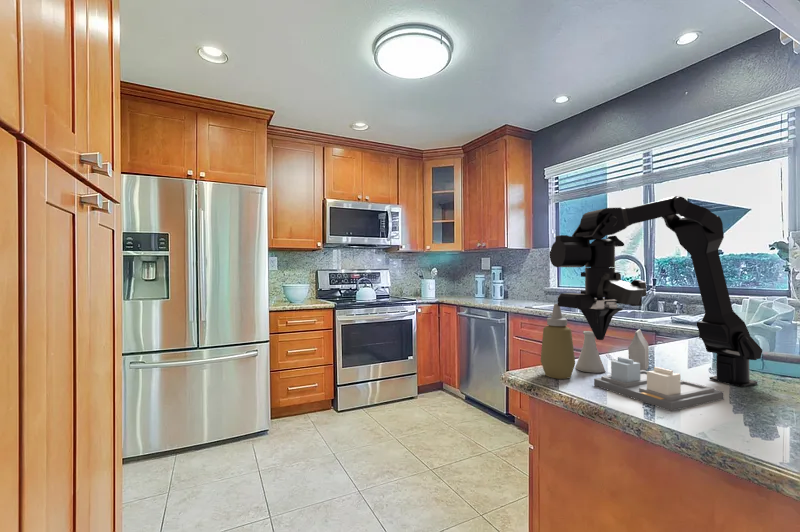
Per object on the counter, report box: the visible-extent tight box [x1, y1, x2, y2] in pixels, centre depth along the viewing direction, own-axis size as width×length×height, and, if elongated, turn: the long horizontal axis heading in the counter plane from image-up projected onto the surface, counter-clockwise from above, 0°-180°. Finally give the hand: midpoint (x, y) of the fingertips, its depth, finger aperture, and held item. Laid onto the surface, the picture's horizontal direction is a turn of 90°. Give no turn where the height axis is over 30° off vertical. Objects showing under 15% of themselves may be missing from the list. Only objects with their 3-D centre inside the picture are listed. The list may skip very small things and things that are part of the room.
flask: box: [575, 330, 606, 374], centre depth 99 cm, size 7×7×10 cm
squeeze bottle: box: [540, 303, 576, 380], centre depth 94 cm, size 8×8×18 cm
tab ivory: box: [646, 366, 681, 396], centre depth 76 cm, size 4×4×5 cm
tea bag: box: [628, 329, 650, 371], centre depth 101 cm, size 4×7×10 cm, turn 140°
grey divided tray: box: [593, 370, 725, 412], centre depth 82 cm, size 16×17×2 cm
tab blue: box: [610, 356, 641, 383], centre depth 85 cm, size 4×4×5 cm
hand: (599, 339), depth 82 cm, fingers closed
